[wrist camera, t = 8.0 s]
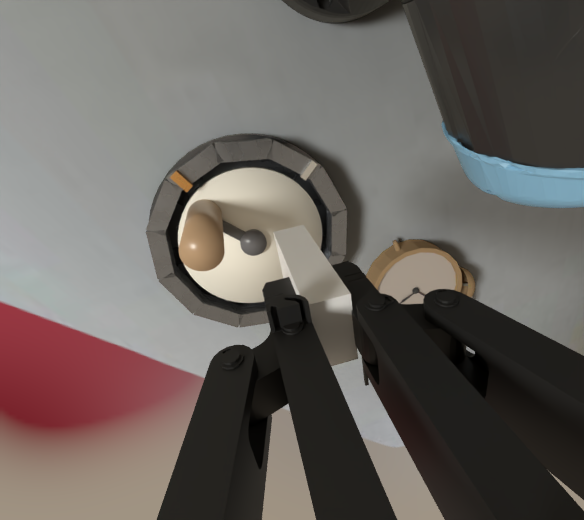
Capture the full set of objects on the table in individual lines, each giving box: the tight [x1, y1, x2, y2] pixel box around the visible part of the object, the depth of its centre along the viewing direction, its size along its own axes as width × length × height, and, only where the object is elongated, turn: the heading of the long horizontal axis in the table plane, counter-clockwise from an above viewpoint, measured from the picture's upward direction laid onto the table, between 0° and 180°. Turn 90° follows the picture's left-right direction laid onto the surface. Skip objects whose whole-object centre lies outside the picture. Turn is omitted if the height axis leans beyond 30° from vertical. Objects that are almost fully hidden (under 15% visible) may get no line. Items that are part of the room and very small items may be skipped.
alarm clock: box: [366, 240, 475, 304], centre depth 42 cm, size 11×5×15 cm
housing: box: [146, 134, 347, 327], centre depth 35 cm, size 20×20×4 cm
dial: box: [178, 166, 322, 303], centre depth 31 cm, size 14×14×10 cm
